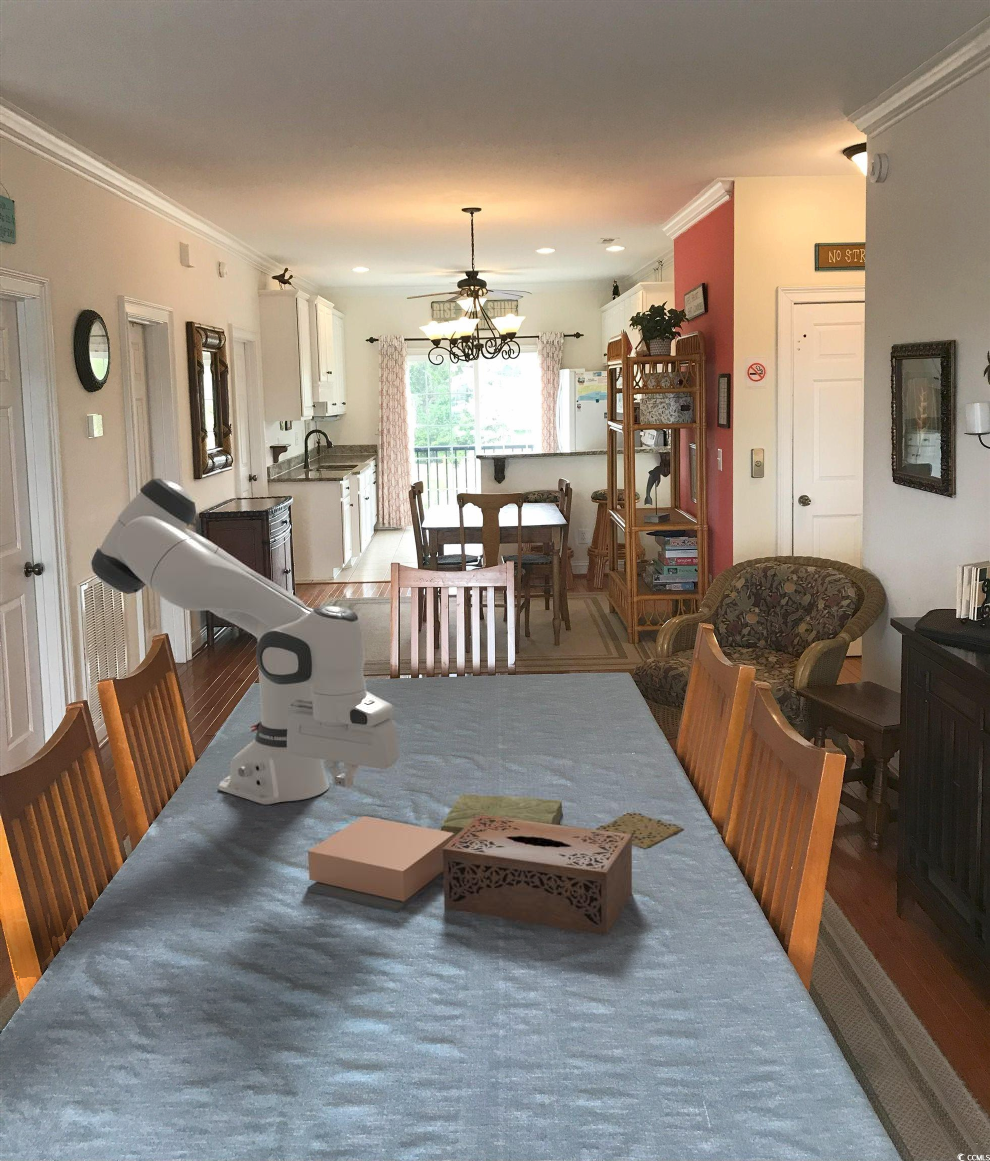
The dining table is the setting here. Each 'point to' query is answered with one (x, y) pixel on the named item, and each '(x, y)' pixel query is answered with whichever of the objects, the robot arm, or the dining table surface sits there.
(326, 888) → the slate mat
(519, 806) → the decorative tile
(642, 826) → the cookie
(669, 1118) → the dining table surface
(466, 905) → the tissue box cover
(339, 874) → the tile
